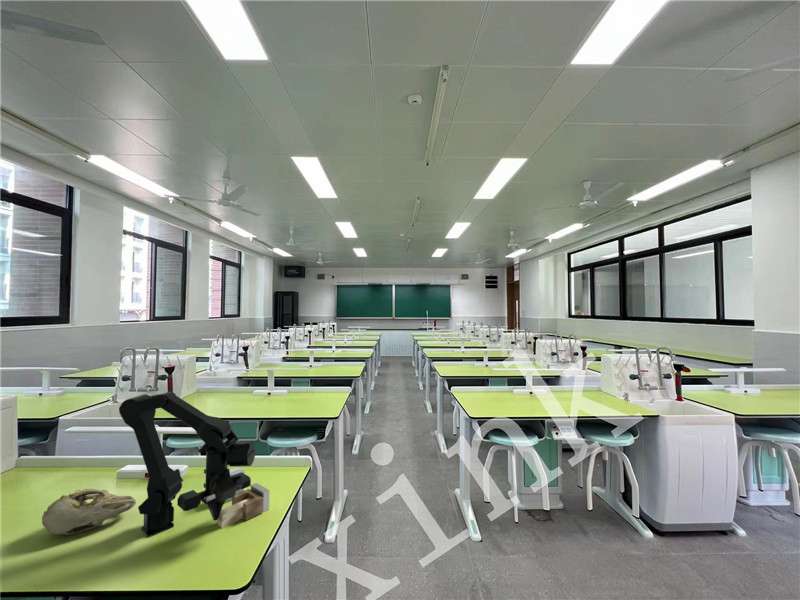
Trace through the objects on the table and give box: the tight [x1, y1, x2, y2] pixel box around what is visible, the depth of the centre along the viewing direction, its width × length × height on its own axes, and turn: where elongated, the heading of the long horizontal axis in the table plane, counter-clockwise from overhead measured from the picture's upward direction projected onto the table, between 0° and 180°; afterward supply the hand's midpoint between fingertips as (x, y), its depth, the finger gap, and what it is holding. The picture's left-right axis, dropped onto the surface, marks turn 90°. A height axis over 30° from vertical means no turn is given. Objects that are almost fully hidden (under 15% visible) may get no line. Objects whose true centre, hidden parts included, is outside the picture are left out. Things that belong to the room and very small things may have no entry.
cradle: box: [231, 488, 264, 521], centre depth 109 cm, size 6×9×4 cm, turn 52°
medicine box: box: [224, 466, 245, 504], centre depth 118 cm, size 8×4×9 cm, turn 141°
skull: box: [41, 488, 137, 536], centre depth 102 cm, size 11×20×15 cm
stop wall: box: [250, 482, 270, 513], centre depth 112 cm, size 2×8×6 cm, turn 52°
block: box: [216, 498, 251, 529], centre depth 106 cm, size 10×4×4 cm, turn 141°
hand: (215, 519), depth 101 cm, fingers closed
